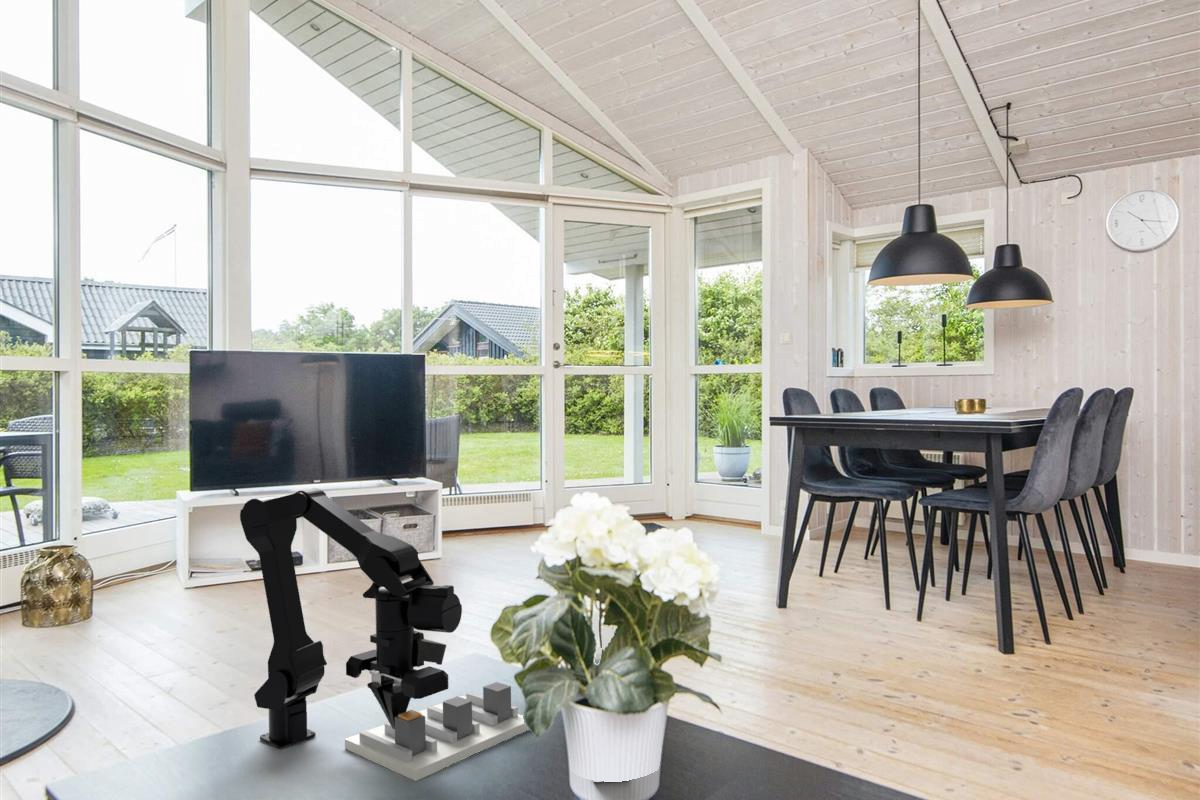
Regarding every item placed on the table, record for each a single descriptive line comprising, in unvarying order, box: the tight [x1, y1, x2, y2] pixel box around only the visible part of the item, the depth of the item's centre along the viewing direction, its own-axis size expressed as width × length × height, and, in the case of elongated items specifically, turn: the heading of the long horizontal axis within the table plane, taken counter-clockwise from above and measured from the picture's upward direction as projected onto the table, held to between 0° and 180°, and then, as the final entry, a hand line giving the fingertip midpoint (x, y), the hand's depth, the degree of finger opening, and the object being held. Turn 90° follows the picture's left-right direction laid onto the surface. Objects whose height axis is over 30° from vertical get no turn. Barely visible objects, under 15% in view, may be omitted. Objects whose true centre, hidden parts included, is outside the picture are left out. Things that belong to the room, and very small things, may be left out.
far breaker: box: [482, 681, 512, 722], centre depth 135 cm, size 4×3×5 cm
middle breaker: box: [442, 696, 472, 739], centre depth 128 cm, size 4×3×5 cm
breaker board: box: [344, 691, 530, 782], centre depth 131 cm, size 18×24×3 cm
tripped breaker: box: [395, 709, 426, 755], centre depth 122 cm, size 4×3×5 cm
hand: (396, 728), depth 125 cm, fingers closed
